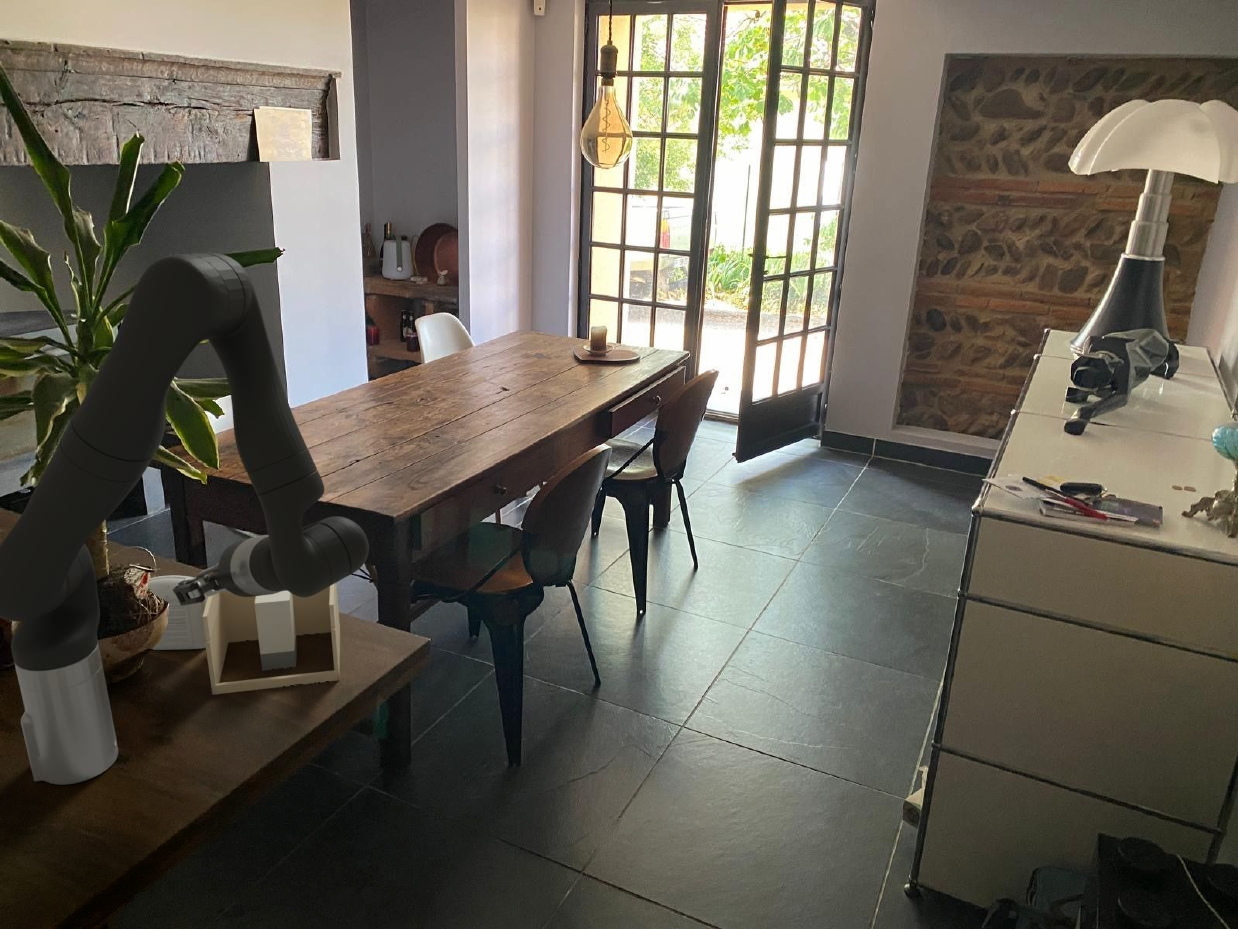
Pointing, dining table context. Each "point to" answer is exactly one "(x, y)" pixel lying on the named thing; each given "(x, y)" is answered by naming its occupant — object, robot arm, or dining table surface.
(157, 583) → the photo printer
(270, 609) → the box
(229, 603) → the storage bin
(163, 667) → the dining table surface
